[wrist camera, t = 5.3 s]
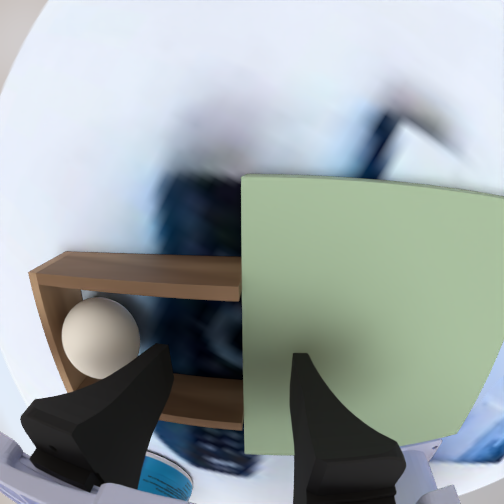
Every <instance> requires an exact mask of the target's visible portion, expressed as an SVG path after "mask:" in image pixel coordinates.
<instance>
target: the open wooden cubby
mask: <svg viewBox="0 0 504 504" xmlns="http://www.w3.org/2000/svg"><path fill="white" fill-rule="evenodd" d="M28 274H29V278H30V282H31V287H32V291H33V295H34V298H35V302H36V306H37V309H38V313H39V316H40V320H41V323H42V326H43V329H44V333H45V336H46V339H47V342H48V344H49V347H50V350H51V353H52V356H53V358H54V361H55V364H56V366H57V369H58V371H59V374H60V376H61V379H62V381H63V383H64V386H65V388H66V390H67V393H69V392H73V391H76V390H78V389H81V388H84V387H86V386H89V385H91V384H94V383H96V382H98V381H100V380H102V379H97V378H93V377H90V376H87V375H85V374H83V373H82V372H80V371H79V370H78V369H77V368H76V367H75V366H74V365H73V364H72V363H71V362H70V360H69V359H68V357H67V355H66V353H65V351H64V348H63V343H62V328H63V323H64V320H65V318H66V316H67V315H68V313H69V312H70V310H71V309H72V308H73V307H74V306H75V305H76V304H78V303H79V302H81V301H83V300H82V295H81V290H89V291H99V292H109V293H119V294H131V295H143V296H155V297H169V298H184V299H200V300H219V301H239V299H240V295H241V291H242V257H226V256H191V255H158V254H127V253H97V252H68V251H66V252H64V253H62V254H60V255H58V256H57V257H55V258H53V259H51V260H49V261H47V262H46V263H44V264H42V265H40V266H38V267H37V268H35V269H33V270H31V271H30V272H28ZM173 375H174V381H173V385H172V389H171V392H170V395H169V398H168V400H167V402H166V405H165V407H164V409H163V411H162V414H161V416H160V418H159V420H162V421H168V422H174V423H180V424H187V425H194V426H202V427H210V428H220V429H230V430H242V426H243V419H244V394H243V380H236V379H222V378H211V377H201V376H191V375H183V374H175V373H173Z"/></svg>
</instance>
